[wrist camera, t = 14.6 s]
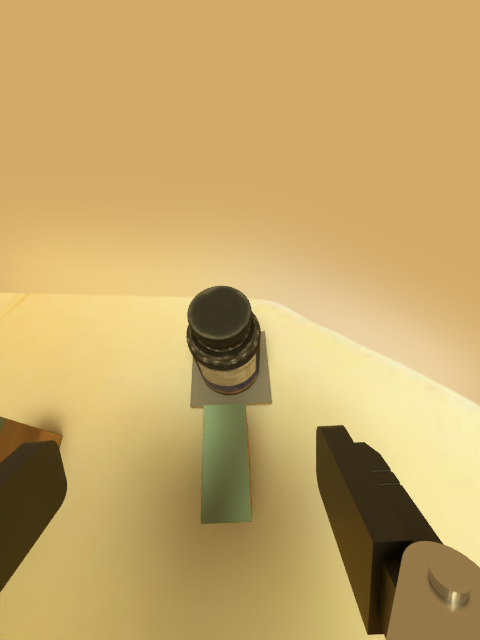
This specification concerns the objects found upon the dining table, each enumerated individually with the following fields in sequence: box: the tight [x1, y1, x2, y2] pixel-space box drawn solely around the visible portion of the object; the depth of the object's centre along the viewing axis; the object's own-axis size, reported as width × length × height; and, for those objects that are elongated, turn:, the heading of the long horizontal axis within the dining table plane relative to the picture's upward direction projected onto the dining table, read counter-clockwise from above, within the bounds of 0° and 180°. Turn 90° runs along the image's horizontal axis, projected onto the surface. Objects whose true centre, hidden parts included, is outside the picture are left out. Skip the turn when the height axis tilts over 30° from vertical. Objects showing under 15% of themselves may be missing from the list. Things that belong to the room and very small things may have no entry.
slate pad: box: [190, 331, 272, 408], centre depth 30 cm, size 8×8×1 cm
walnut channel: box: [0, 403, 252, 524], centre depth 22 cm, size 21×7×8 cm, turn 93°
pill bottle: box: [186, 286, 261, 395], centre depth 25 cm, size 6×6×11 cm
